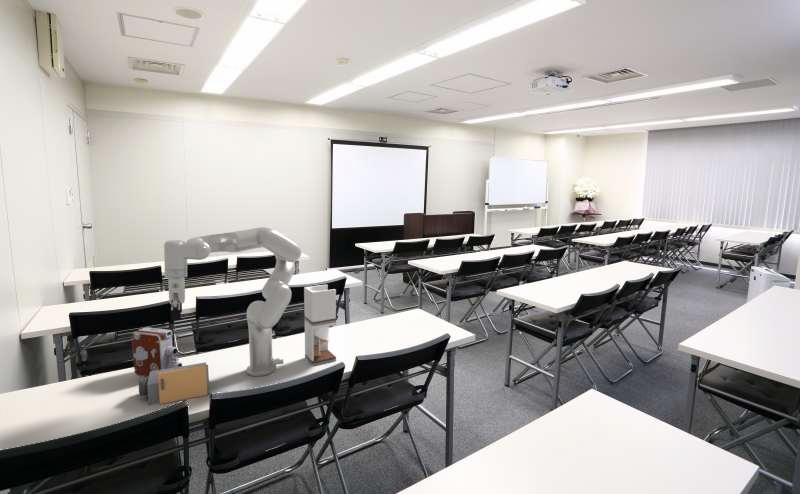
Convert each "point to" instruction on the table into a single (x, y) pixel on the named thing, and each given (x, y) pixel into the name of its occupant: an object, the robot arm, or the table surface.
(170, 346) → the red printed upright box
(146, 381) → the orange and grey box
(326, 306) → the display case
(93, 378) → the table surface
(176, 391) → the side door
